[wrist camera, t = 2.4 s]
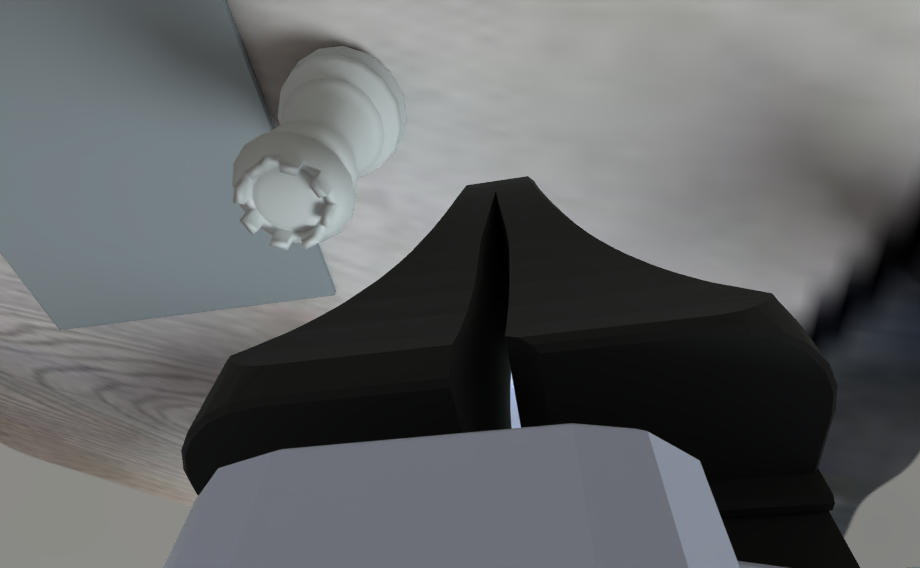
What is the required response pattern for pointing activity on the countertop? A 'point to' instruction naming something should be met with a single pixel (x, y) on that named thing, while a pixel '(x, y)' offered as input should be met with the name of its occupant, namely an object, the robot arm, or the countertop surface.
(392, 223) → the countertop surface
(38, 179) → the mat
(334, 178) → the rook chess piece
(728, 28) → the countertop surface
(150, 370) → the countertop surface
